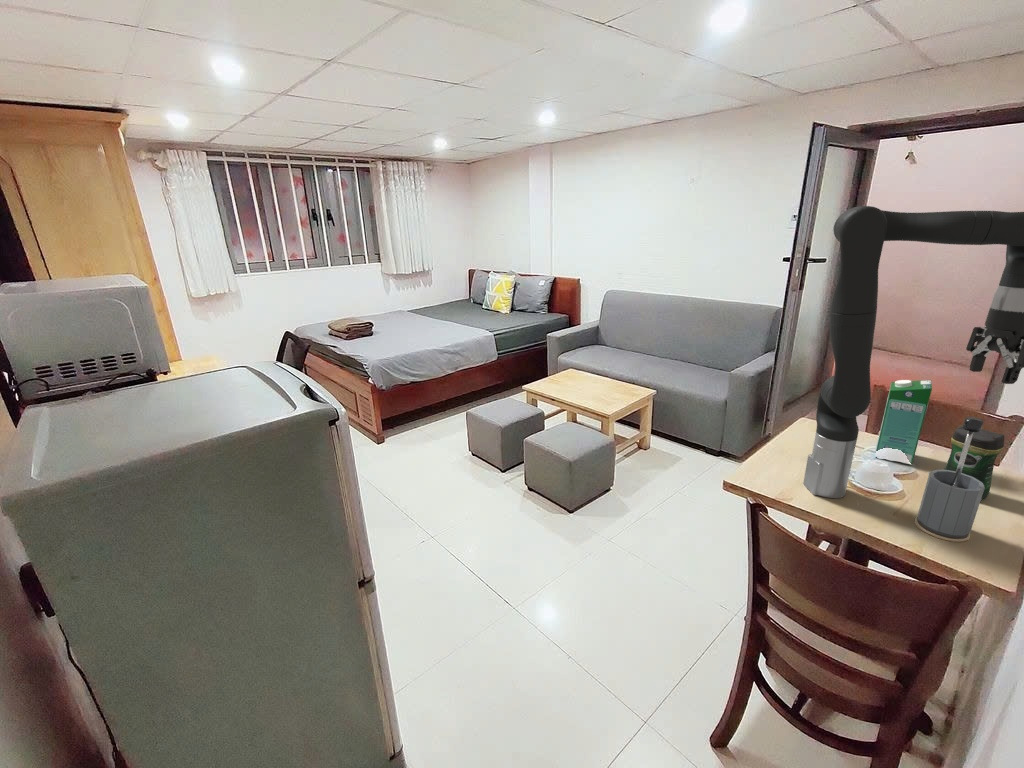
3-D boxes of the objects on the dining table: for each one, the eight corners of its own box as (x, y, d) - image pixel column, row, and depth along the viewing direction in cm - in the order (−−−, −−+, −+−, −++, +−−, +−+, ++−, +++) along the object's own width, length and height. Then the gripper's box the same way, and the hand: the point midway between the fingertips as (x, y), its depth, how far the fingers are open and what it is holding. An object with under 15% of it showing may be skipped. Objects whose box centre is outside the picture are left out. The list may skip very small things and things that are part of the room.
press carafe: (934, 541, 109) (949, 491, 104) (904, 515, 118) (917, 468, 114) (981, 542, 108) (998, 491, 103) (948, 516, 117) (962, 469, 112)
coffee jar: (992, 495, 124) (1013, 432, 118) (977, 504, 121) (998, 440, 115) (947, 479, 132) (965, 419, 126) (932, 486, 129) (950, 426, 123)
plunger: (947, 501, 107) (970, 425, 100) (926, 485, 113) (946, 413, 107) (979, 501, 106) (1004, 425, 100) (956, 486, 112) (978, 413, 106)
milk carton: (876, 446, 152) (893, 374, 144) (912, 454, 147) (931, 379, 138) (874, 457, 146) (891, 383, 137) (911, 465, 140) (932, 388, 132)
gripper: (968, 302, 109) (948, 367, 114) (1026, 314, 95) (1000, 387, 101) (1003, 301, 108) (982, 367, 113) (1066, 313, 95) (1038, 387, 100)
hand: (990, 377), depth 107 cm, fingers open, 8 cm apart
